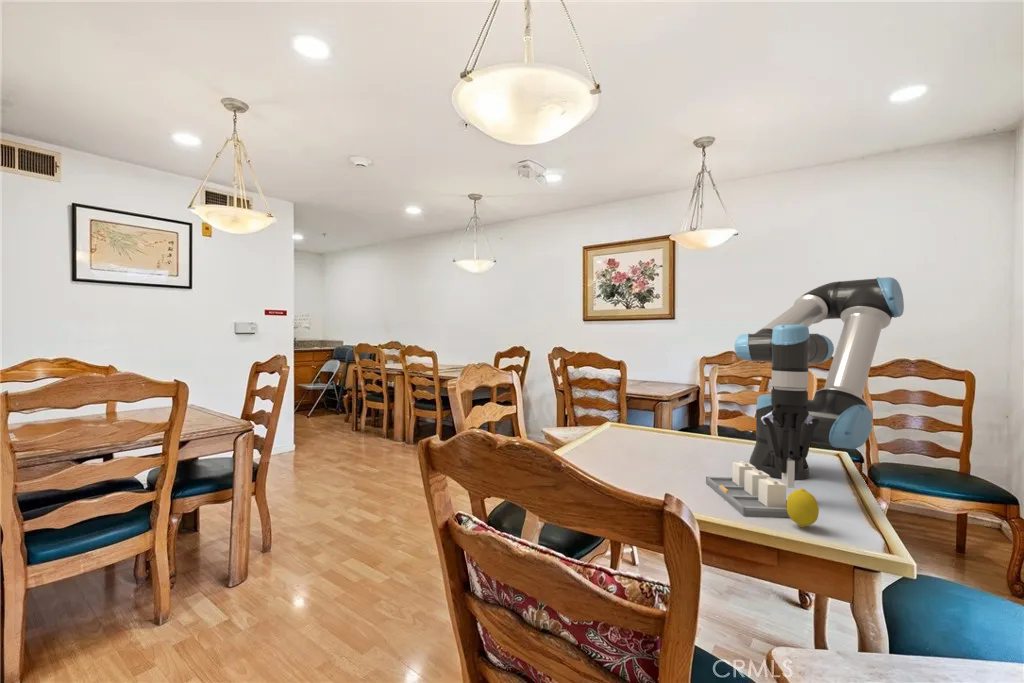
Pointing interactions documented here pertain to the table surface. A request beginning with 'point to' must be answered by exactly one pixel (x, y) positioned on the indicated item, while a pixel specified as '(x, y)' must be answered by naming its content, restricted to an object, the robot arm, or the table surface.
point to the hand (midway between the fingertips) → (787, 486)
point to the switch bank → (743, 499)
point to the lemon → (802, 507)
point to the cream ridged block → (753, 480)
